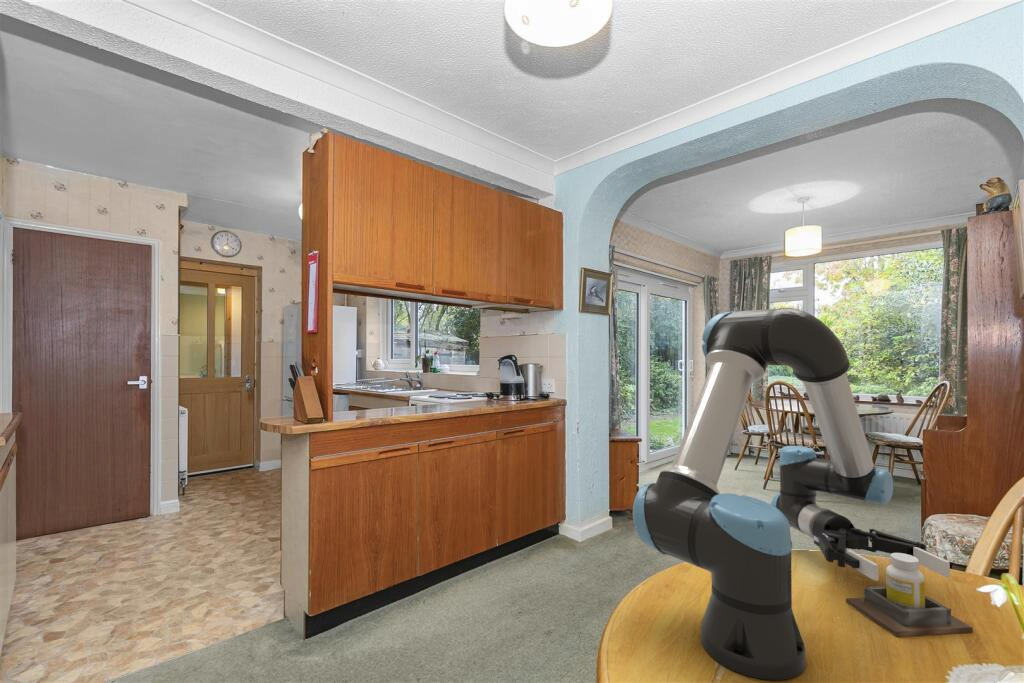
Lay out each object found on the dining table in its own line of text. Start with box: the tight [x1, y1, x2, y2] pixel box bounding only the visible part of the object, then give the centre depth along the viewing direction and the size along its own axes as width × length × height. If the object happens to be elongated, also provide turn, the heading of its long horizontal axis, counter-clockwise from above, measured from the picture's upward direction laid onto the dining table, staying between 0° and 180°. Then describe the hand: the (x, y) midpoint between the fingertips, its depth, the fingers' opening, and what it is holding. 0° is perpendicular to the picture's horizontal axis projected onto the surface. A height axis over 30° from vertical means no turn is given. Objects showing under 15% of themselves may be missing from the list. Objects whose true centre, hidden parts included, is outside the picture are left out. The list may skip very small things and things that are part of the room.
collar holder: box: [845, 586, 974, 638], centre depth 88 cm, size 14×11×3 cm
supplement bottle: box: [885, 553, 926, 609], centre depth 88 cm, size 5×5×10 cm
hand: (912, 571), depth 87 cm, fingers open, 13 cm apart
